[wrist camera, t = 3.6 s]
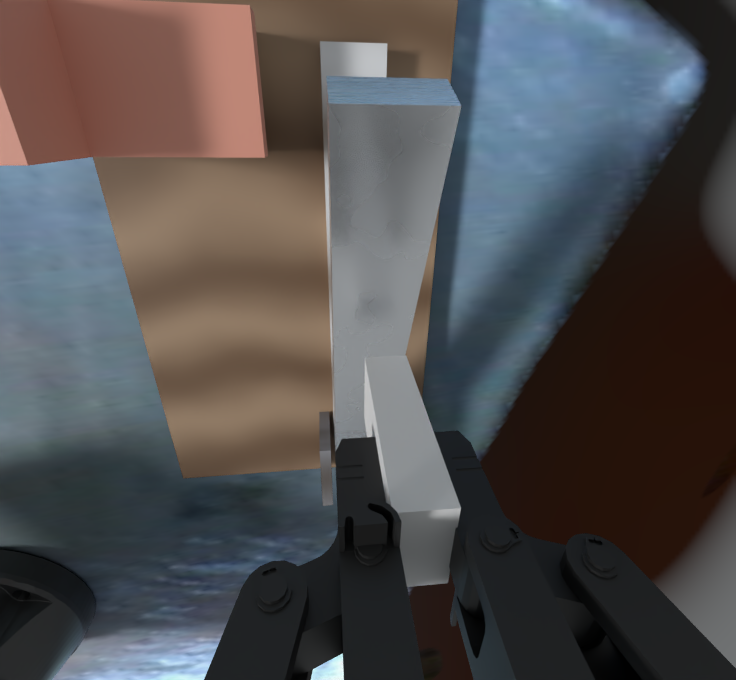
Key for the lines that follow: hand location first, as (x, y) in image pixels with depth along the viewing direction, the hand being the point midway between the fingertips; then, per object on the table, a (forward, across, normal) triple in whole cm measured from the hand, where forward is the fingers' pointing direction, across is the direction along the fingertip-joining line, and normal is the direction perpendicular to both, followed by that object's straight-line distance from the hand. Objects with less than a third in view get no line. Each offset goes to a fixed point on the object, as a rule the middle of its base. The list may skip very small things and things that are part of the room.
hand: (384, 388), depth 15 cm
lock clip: (+8, +8, -10) cm, 15 cm away
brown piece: (+13, +4, 0) cm, 13 cm away
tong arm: (+4, 0, +1) cm, 5 cm away
